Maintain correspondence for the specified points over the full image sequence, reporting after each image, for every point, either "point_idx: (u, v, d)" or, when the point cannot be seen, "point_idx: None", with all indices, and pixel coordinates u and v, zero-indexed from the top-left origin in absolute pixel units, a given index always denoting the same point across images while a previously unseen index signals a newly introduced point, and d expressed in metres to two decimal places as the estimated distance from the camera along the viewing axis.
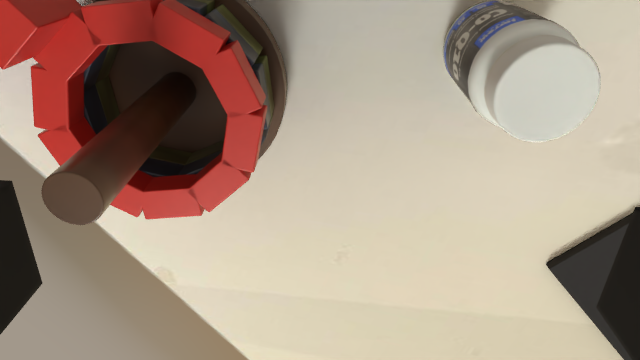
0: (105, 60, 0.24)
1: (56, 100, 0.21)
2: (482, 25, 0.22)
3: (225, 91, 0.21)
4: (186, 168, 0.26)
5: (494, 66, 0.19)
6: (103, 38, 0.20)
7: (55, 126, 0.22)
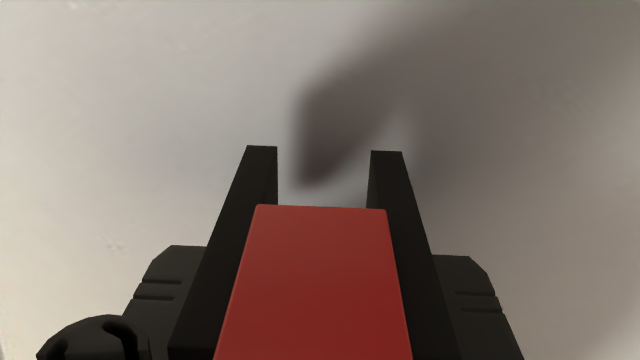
0: None
1: None
2: None
3: None
4: None
5: None
6: None
7: None
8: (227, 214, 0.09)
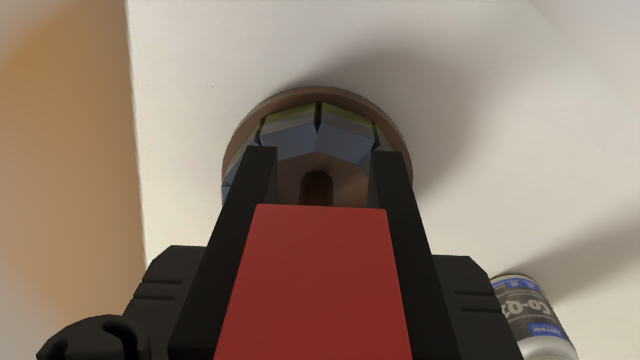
0: None
1: None
2: (534, 311, 0.30)
3: None
4: None
5: None
6: None
7: None
8: (227, 214, 0.09)
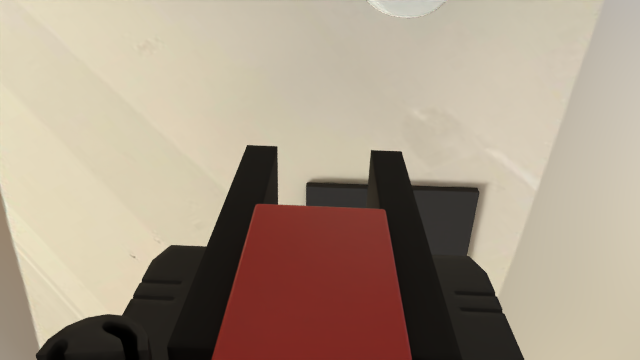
0: None
1: None
2: None
3: None
4: None
5: None
6: None
7: None
8: (227, 214, 0.09)
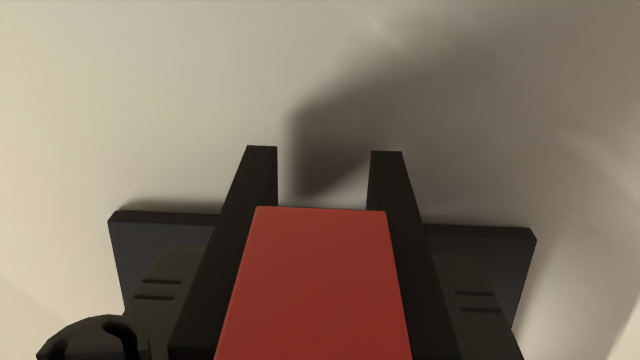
0: None
1: None
2: None
3: None
4: None
5: None
6: None
7: None
8: (227, 214, 0.09)
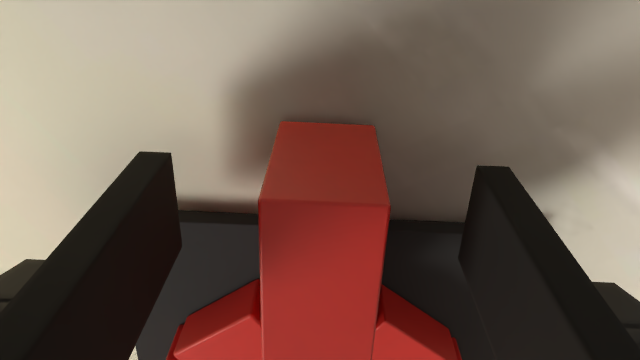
0: None
1: (236, 357, 0.14)
2: None
3: None
4: None
5: None
6: None
7: None
8: (82, 227, 0.09)
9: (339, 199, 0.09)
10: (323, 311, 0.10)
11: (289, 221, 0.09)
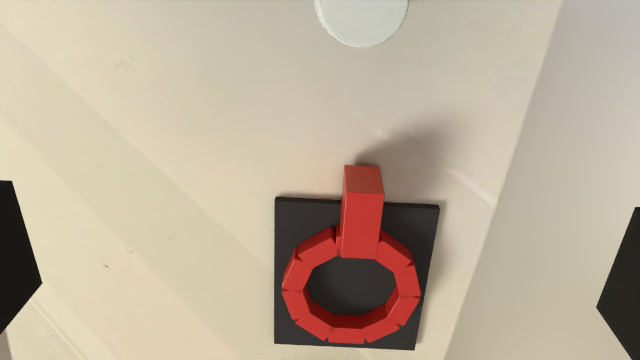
0: None
1: (323, 256, 0.35)
2: None
3: (397, 310, 0.37)
4: None
5: None
6: None
7: (307, 262, 0.36)
8: None
9: (369, 192, 0.30)
10: (363, 227, 0.31)
11: (354, 198, 0.30)
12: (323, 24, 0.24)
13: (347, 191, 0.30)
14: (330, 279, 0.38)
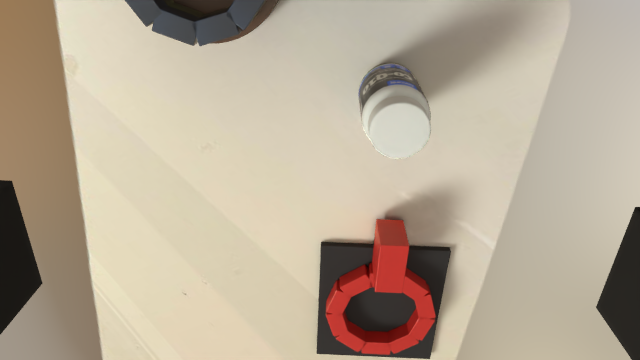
0: None
1: (359, 288, 0.45)
2: (396, 76, 0.34)
3: (417, 328, 0.47)
4: (169, 9, 0.33)
5: (388, 98, 0.31)
6: None
7: (346, 292, 0.45)
8: None
9: (398, 244, 0.40)
10: (392, 270, 0.41)
11: (386, 249, 0.40)
12: (368, 136, 0.34)
13: (381, 244, 0.40)
14: (363, 304, 0.48)
